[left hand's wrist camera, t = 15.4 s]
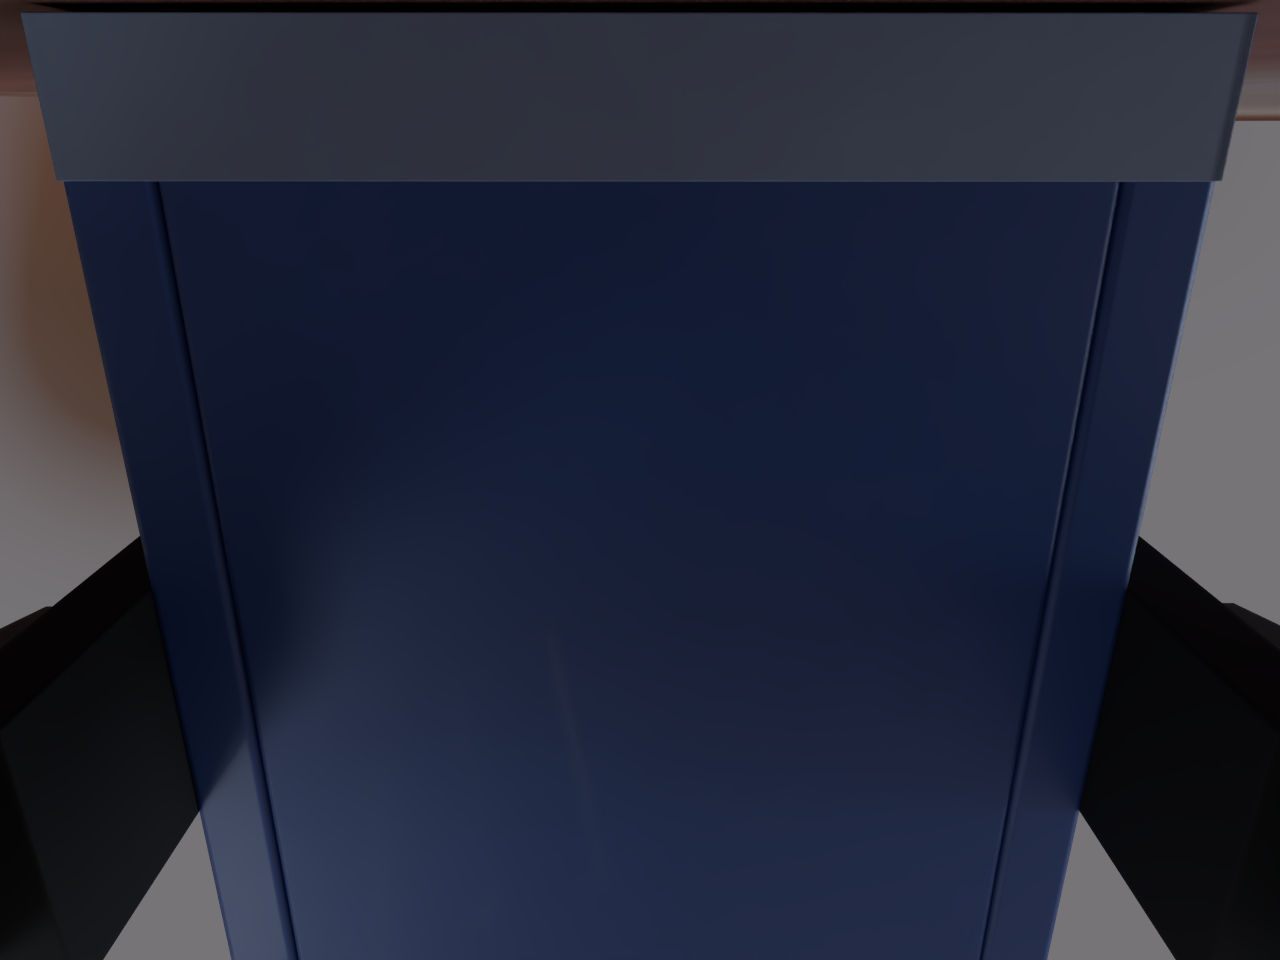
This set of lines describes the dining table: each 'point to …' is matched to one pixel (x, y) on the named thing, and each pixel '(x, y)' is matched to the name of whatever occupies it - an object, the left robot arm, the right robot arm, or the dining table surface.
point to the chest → (639, 453)
